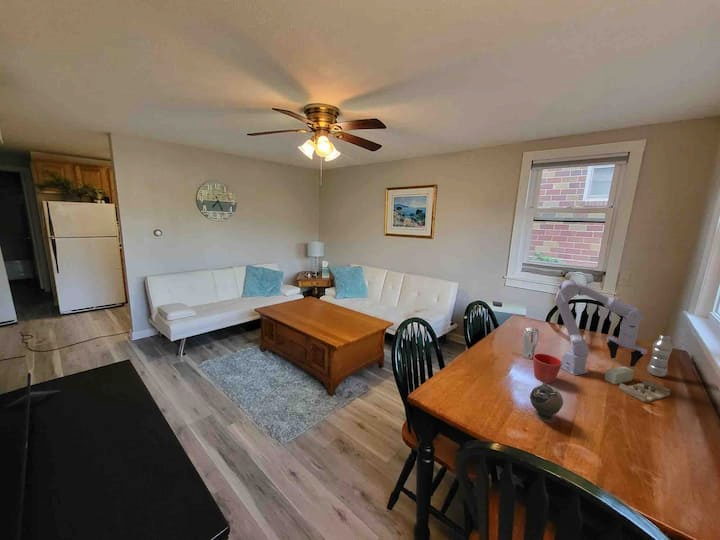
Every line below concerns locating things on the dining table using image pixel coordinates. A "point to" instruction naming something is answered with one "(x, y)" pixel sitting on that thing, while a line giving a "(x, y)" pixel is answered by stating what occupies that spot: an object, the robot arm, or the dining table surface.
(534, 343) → the silver pitcher
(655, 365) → the plastic bottle
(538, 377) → the flower pot
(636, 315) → the robot arm
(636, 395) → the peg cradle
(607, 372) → the pale green block
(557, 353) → the dining table surface
